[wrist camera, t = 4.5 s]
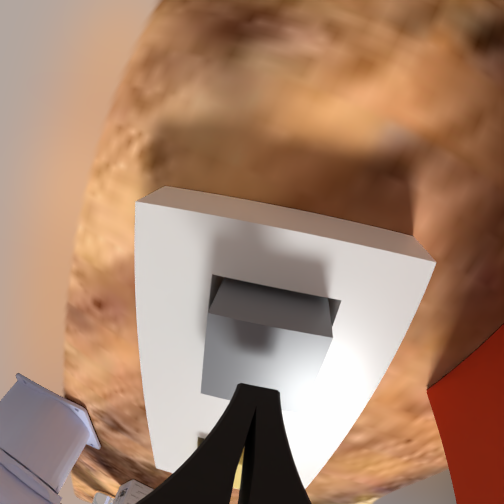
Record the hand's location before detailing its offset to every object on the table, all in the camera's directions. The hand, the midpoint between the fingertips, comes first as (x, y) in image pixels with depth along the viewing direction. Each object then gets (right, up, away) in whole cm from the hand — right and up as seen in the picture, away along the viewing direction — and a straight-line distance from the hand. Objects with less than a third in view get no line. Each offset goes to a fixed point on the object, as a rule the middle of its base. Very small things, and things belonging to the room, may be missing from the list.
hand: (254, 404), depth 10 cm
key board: (0, -3, +9) cm, 9 cm away
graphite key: (+1, +2, +4) cm, 5 cm away
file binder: (+20, 0, +5) cm, 20 cm away
